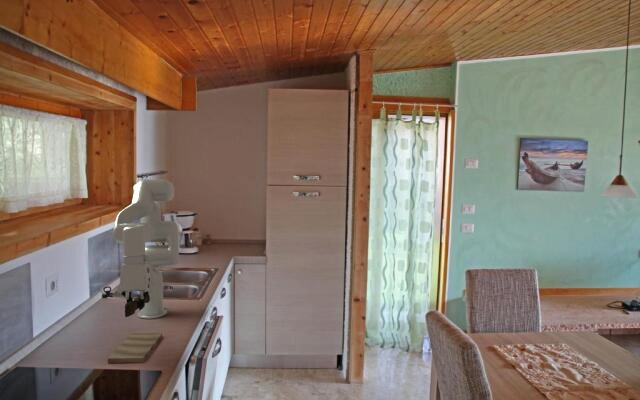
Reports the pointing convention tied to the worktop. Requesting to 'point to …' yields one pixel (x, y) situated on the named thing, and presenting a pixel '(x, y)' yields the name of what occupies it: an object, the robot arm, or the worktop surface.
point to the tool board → (135, 348)
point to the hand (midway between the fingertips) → (135, 308)
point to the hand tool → (134, 305)
